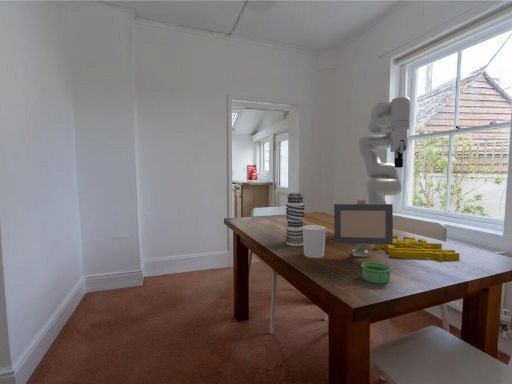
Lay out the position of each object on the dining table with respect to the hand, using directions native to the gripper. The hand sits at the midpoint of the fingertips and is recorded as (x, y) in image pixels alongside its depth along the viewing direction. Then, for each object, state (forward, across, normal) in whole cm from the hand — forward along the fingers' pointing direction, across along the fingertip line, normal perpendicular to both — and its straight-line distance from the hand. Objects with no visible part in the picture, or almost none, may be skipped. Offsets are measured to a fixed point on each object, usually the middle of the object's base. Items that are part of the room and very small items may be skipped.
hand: (398, 167), depth 121 cm
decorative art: (+38, -1, +5) cm, 38 cm away
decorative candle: (+37, +3, -46) cm, 59 cm away
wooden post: (+37, +15, -17) cm, 43 cm away
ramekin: (+37, +41, -15) cm, 57 cm away
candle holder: (+37, +20, -36) cm, 56 cm away
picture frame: (+31, +19, -17) cm, 40 cm away
